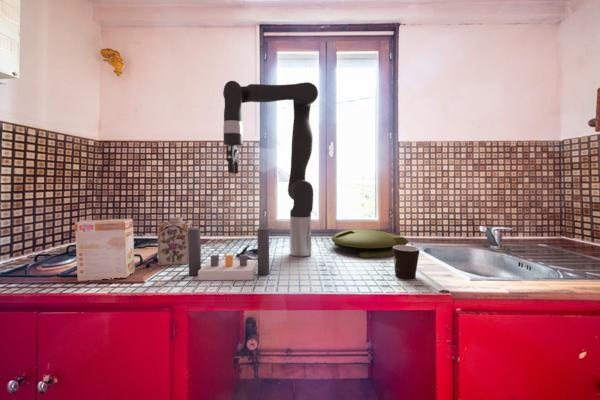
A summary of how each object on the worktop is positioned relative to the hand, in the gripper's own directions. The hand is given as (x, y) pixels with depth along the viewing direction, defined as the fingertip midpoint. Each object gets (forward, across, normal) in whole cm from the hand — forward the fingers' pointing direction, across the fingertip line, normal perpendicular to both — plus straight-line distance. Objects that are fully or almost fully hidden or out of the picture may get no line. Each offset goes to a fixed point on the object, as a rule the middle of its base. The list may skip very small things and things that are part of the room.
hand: (233, 173), depth 117 cm
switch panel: (+36, -19, -2) cm, 41 cm away
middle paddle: (+33, -19, -2) cm, 38 cm away
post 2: (+36, -19, -14) cm, 43 cm away
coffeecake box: (+36, -21, +39) cm, 57 cm away
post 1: (+36, -19, +10) cm, 42 cm away
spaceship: (+37, +17, -61) cm, 73 cm away
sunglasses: (+37, +4, -6) cm, 37 cm away
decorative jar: (+36, -2, +23) cm, 43 cm away
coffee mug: (+36, -22, -64) cm, 77 cm away
